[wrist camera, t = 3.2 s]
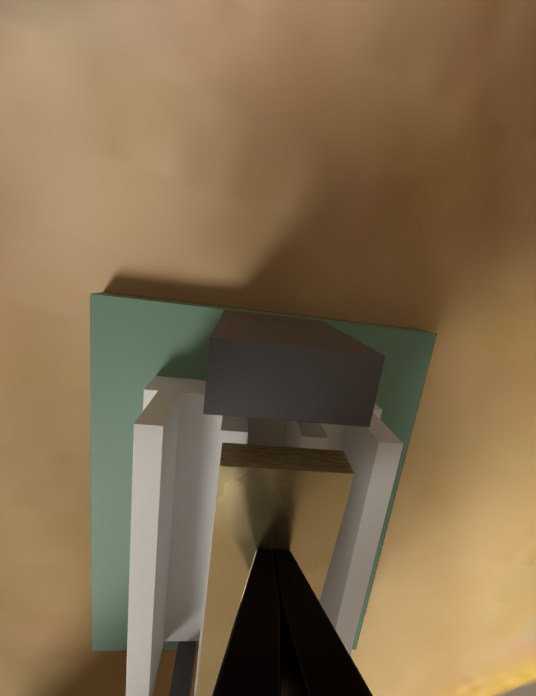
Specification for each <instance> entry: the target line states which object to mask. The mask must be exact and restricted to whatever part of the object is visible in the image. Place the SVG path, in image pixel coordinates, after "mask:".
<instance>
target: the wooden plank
mask: <svg viewBox="0 0 536 696" xmlns="http://www.w3.org/2000/svg"><path fill="white" fill-rule="evenodd" d="M353 478H354V472H353V469H352V467H351V465H350V463H349V461H348V459H347V457H346V455H345V453H344V451H339V450H324V449H310V448H295V447H281V446H266V445H252V444H237V443H223V442H222V450H221V459H220V467H219V477H218V487H217V497H216V507H215V516H214V526H213V536H212V546H211V556H210V566H209V575H208V585H207V595H206V605H205V615H204V624H203V634H202V644H201V654H200V664H199V674H198V683H197V693H196V696H212V693H213V690H214V687H215V684H216V680H217V677H218V674H219V670H220V667H221V664H222V661H223V657H224V654H225V651H226V648H227V644H228V641H229V638H230V634H231V631H232V628H233V625H234V621H235V618H236V615H237V611H238V608H239V605H240V602H241V598H242V595H243V592H244V588H245V585H246V582H247V579H248V575H249V572H250V569H251V566H252V562H253V559H254V556H255V552H256V550H257V549H272V550H273V551H274V550H275V549H288V550H290V551H291V553H292V554H293V556H294V558H295V560H296V561H297V563H298V565H299V567H300V568H301V570H302V572H303V574H304V575H305V577H306V579H307V581H308V583H309V584H310V586H311V588H312V590H313V591H314V593H315V595H316V597H317V598H318V600H319V601H320V597H321V594H322V590H323V586H324V583H325V579H326V576H327V572H328V568H329V565H330V561H331V558H332V554H333V550H334V547H335V543H336V540H337V536H338V532H339V529H340V525H341V521H342V518H343V514H344V511H345V507H346V503H347V500H348V496H349V493H350V489H351V485H352V482H353Z"/></svg>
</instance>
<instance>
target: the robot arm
mask: <svg viewBox="0 0 536 696" xmlns="http://www.w3.org/2000/svg"><path fill="white" fill-rule="evenodd" d="M212 696H373V695H372V693H371V692H370V690H369V688H368V686H367V685H366V683H365V681H364V679H363V678H362V676H361V674H360V672H359V671H358V669H357V667H356V665H355V664H354V662H353V660H352V658H351V656H350V655H349V653H348V651H347V649H346V648H345V646H344V644H343V642H342V641H341V639H340V637H339V635H338V634H337V632H336V630H335V628H334V627H333V625H332V623H331V621H330V619H329V618H328V616H327V614H326V612H325V611H324V609H323V607H322V605H321V604H320V602H319V600H318V598H317V597H316V595H315V593H314V591H313V590H312V588H311V586H310V584H309V583H308V581H307V579H306V577H305V575H304V574H303V572H302V570H301V568H300V567H299V565H298V563H297V561H296V560H295V558H294V556H293V554H292V553H291V551H290V550H288V549H275V550H274V551H273V550H272V549H257V550H256V552H255V556H254V559H253V562H252V566H251V569H250V572H249V575H248V579H247V582H246V585H245V588H244V592H243V595H242V598H241V602H240V605H239V608H238V611H237V615H236V618H235V621H234V625H233V628H232V631H231V634H230V638H229V641H228V644H227V648H226V651H225V654H224V657H223V661H222V664H221V667H220V670H219V674H218V677H217V680H216V684H215V687H214V690H213V693H212Z"/></svg>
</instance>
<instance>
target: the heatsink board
mask: <svg viewBox="0 0 536 696" xmlns="http://www.w3.org/2000/svg"><path fill="white" fill-rule="evenodd" d="M436 335H437V334H434V333H430V332H427V331H424V330H416V329H408V328H399V327H391V326H382V325H374V324H366V323H357V322H349V321H340V320H332V319H323V318H315V317H307V316H298V315H290V314H281V313H273V312H264V311H256V310H247V309H239V308H231V307H222V306H214V305H205V304H197V303H188V302H180V301H171V300H163V299H155V298H146V297H138V296H129V295H121V294H112V293H104V292H101V293H92V294H90V355H91V557H92V651H127V668H126V696H153V692H154V688H155V683H156V678H157V674H158V669H159V664H160V660H161V655H162V651H172V650H177V654H176V660H175V666H174V672H173V677H172V683H171V689H170V695H169V696H190V693H191V685H192V677H193V669H194V661H195V653H196V650H198V659H197V669H196V679H195V689H194V696H196V693H197V683H198V674H199V664H200V654H201V644H202V634H203V624H204V615H205V605H206V595H207V585H208V575H209V566H210V556H211V546H212V536H213V526H214V516H215V507H216V497H217V487H218V477H219V467H220V459H221V450H222V442H223V443H237V444H252V445H266V446H281V447H295V448H310V449H324V450H339V451H344V453H345V455H346V457H347V459H348V461H349V463H350V465H351V467H352V469H353V472H354V478H353V482H352V485H351V489H350V493H349V496H348V500H347V503H346V507H345V511H344V514H343V518H342V521H341V525H340V529H339V532H338V536H337V540H336V543H335V547H334V550H333V554H332V558H331V561H330V565H329V568H328V572H327V576H326V579H325V583H324V586H323V590H322V594H321V597H320V601H319V602H320V604H321V605H322V607H323V609H324V611H325V612H326V614H327V616H328V618H329V619H330V621H331V623H332V625H333V627H334V628H335V630H336V632H337V634H338V635H339V637H340V639H341V641H342V642H343V644H344V646H345V648H346V649H347V651H348V653H349V655H350V654H351V650H352V649H356V647H357V643H358V639H359V635H360V631H361V627H362V623H363V620H364V616H365V612H366V608H367V604H368V600H369V596H370V592H371V588H372V584H373V581H374V577H375V573H376V569H377V565H378V561H379V557H380V553H381V549H382V546H383V542H384V538H385V534H386V530H387V526H388V522H389V518H390V514H391V510H392V507H393V503H394V499H395V495H396V491H397V487H398V483H399V479H400V475H401V472H402V468H403V464H404V460H405V456H406V452H407V448H408V444H409V440H410V436H411V433H412V429H413V425H414V421H415V417H416V413H417V409H418V405H419V401H420V398H421V394H422V390H423V386H424V382H425V378H426V374H427V370H428V366H429V362H430V359H431V355H432V351H433V347H434V343H435V339H436Z"/></svg>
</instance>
